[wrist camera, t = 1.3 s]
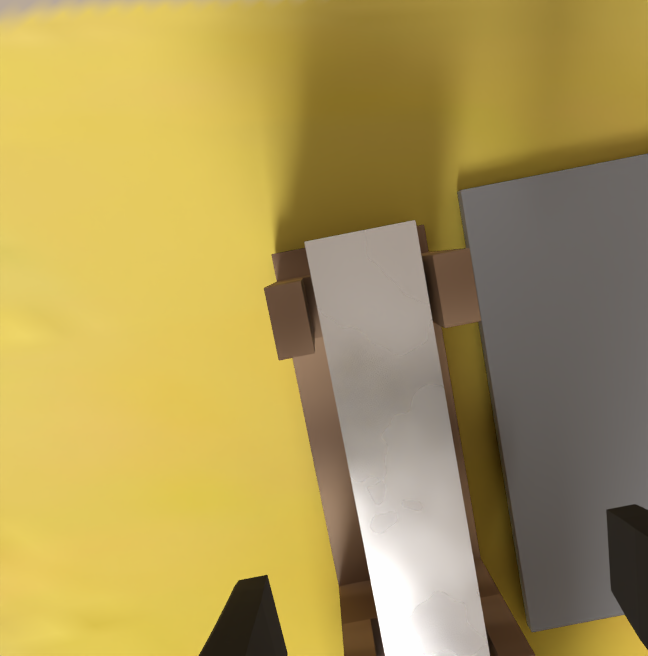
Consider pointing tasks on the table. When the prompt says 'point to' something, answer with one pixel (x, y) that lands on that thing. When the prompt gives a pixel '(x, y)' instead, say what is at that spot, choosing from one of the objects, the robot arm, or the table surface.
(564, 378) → the mat
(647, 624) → the robot arm
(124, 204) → the table surface
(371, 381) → the rail
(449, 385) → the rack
